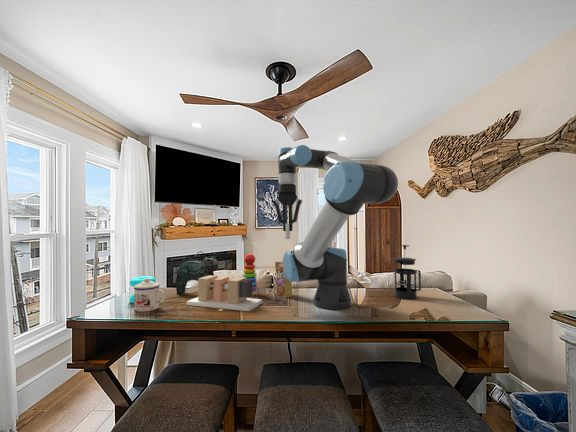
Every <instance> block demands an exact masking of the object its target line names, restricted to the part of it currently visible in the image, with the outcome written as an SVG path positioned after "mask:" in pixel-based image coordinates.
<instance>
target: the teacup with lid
mask: <svg viewBox="0 0 576 432" xmlns="http://www.w3.org/2000/svg"><path fill="white" fill-rule="evenodd" d="M133 291H134V293H133V294H134V303H133V305H134V306H133V307H134V308H133V309H134V311H135V312H138V313H139V312H140V313H141V312H143V313H144V312H150V311H155V310H157V309H159V307H160V303H163V302H164V300H165V298H166V292H164V290H162V289H160V283H158V282H156V281H155V282H153V281H150V279H149V278H145V279H144V281H143V282H141V283H140V284H137V285H135V286H134V287H133ZM160 294H161V295H162V296H161V298H160Z"/></svg>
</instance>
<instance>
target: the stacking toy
mask: <svg viewBox="0 0 576 432" xmlns="http://www.w3.org/2000/svg"><path fill="white" fill-rule="evenodd" d="M243 261H244V263H245V264H244V266H243V271H242V272H243V274H242V277H245V278H247V280H252V295H251V296H250V297H252V296H256V295H257V294H258V290H257V289H258V286H257V285H258V282H257V277H256V276H257V274H256V269H255V268H256V265H255V264H254V263H255V261H256V257H255V255H254V254H252V253H247V254H246V255H245V256H244V260H243Z"/></svg>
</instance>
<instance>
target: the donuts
mask: <svg viewBox="0 0 576 432" xmlns="http://www.w3.org/2000/svg"><path fill="white" fill-rule="evenodd" d="M145 278H149V279H150V281H153V282H155V283H156V278H155V277H154V276H149V275H146V276H145V275H143V276H136V277H132V278H131V279H130V280H129V282H128V283H129V285H130V286H131V287H133V288H134V286H135V285H137V284H140V283H141V282H143V281H144V279H145ZM128 299H129V302H130V303H131V304H134V293H133V294H131V295H130V296H129V298H128Z"/></svg>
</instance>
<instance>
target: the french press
mask: <svg viewBox="0 0 576 432" xmlns="http://www.w3.org/2000/svg"><path fill="white" fill-rule="evenodd" d="M399 246H400V247H403V250H404V256H403V257H396V258H395V257H394V260H395V263H398V264H399V265H403V266H404V268H394V297H395V298H396V299H399V300H400V299H401V300H406V301H407V300H409V301H411V300H417V299H418V296H417V294H418V293H417V292H421V290H422V285H421V284H422V281H421V279H422V277H421V276H422V275H421V270H417V269H413V268H406V266H414V265H415V264H416V262H415V261H417V258H410V257H406V250H407V247H410V245H409V244H401V245H399ZM417 272H418V273H417ZM397 274H398V275H399V280H397ZM417 274H418V276H417ZM412 275H414V276H413V278H414V281H412ZM417 277H418V278H417ZM417 279H418V288H417ZM398 285H399V286H398ZM397 286H398V287H397ZM412 286H414V288H412Z"/></svg>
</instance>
